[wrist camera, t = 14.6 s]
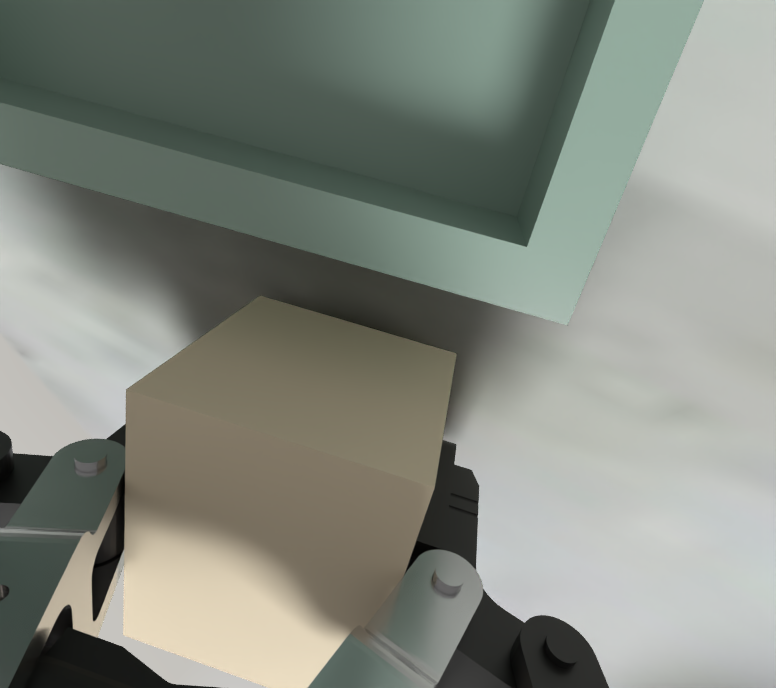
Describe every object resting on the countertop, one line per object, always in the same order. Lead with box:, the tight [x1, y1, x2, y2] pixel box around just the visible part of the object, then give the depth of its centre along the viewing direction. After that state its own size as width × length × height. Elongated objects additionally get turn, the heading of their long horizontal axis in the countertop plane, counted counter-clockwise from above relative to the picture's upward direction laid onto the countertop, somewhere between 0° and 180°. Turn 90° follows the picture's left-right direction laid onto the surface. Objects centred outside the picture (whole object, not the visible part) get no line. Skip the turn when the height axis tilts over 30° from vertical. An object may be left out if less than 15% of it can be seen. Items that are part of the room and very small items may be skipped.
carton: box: [123, 296, 457, 688], centre depth 11 cm, size 5×6×5 cm
